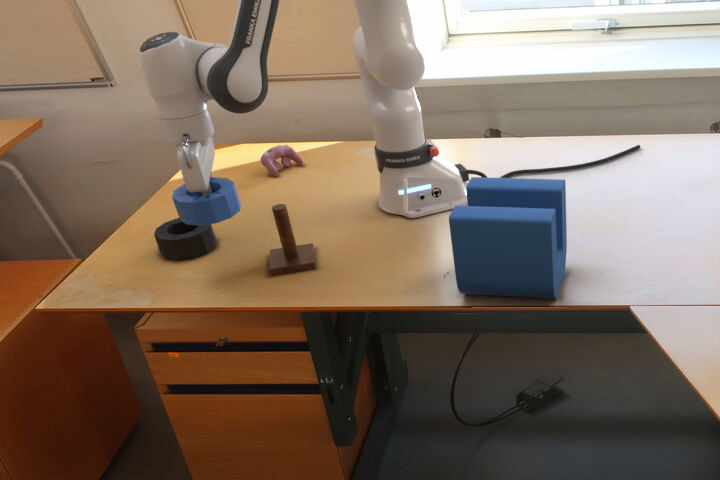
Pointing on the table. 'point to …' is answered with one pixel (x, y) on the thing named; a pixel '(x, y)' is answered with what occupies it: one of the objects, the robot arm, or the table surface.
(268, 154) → the video game controller
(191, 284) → the table surface
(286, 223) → the wooden stand
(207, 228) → the ring
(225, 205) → the blue tape
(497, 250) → the block
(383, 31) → the robot arm
